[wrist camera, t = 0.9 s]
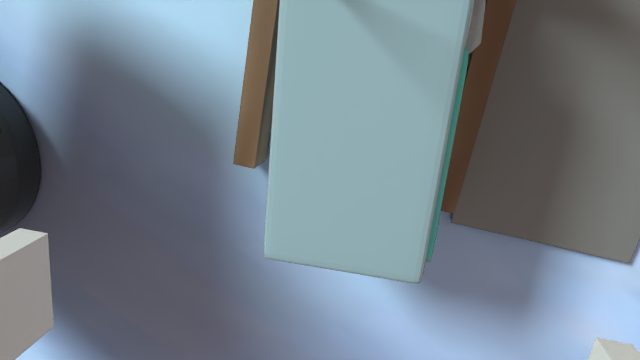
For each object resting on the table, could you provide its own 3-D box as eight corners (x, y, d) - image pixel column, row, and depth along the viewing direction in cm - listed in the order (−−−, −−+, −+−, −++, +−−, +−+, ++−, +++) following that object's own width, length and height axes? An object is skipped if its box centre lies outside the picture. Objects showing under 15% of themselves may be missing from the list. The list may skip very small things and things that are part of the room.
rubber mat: (450, 219, 33) (451, 222, 32) (535, -74, 27) (538, -77, 26) (624, 259, 31) (629, 263, 31) (754, -40, 25) (762, -42, 25)
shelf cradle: (247, 154, 34) (148, 223, 21) (283, -122, 28) (181, -270, 15) (449, 198, 32) (483, 305, 19) (529, -85, 27) (657, -213, 13)
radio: (429, 207, 33) (469, 427, 14) (307, 189, 34) (190, 369, 15) (472, -33, 28) (622, -197, 9) (328, -44, 29) (197, -209, 10)
